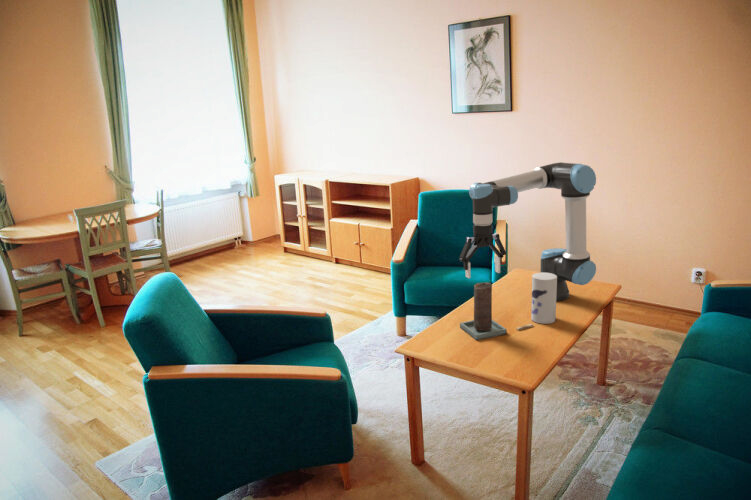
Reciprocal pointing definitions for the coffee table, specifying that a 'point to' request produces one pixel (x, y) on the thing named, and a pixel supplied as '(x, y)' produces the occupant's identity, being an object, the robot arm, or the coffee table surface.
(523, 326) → the beige wooden bar
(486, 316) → the dark brown cylinder
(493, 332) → the dish
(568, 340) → the coffee table surface
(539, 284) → the container
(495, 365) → the coffee table surface
